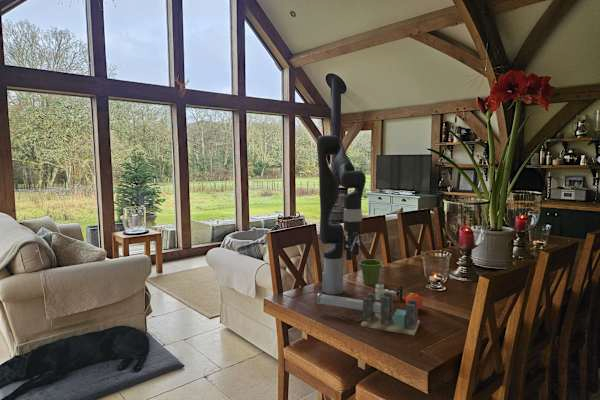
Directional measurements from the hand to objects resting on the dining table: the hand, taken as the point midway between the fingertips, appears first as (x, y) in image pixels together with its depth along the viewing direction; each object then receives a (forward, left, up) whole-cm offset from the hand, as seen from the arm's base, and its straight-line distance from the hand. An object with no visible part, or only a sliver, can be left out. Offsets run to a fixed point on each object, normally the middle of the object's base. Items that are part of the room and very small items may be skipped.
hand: (352, 257), depth 164 cm
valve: (+11, +19, -23) cm, 32 cm away
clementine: (+23, +12, -23) cm, 35 cm away
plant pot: (-3, +38, -23) cm, 44 cm away
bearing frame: (+18, -7, -23) cm, 30 cm away
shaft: (+2, -7, -19) cm, 21 cm away
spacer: (+20, -8, -20) cm, 29 cm away
